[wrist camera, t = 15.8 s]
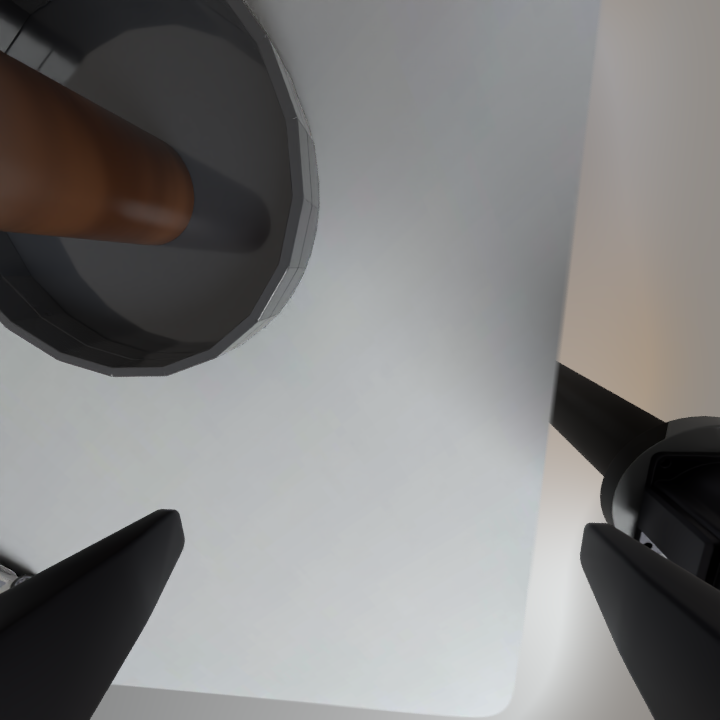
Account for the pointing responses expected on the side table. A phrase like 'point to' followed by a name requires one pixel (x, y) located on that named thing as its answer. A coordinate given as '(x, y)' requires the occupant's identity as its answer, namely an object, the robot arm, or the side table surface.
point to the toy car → (10, 578)
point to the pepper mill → (83, 167)
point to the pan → (208, 174)
